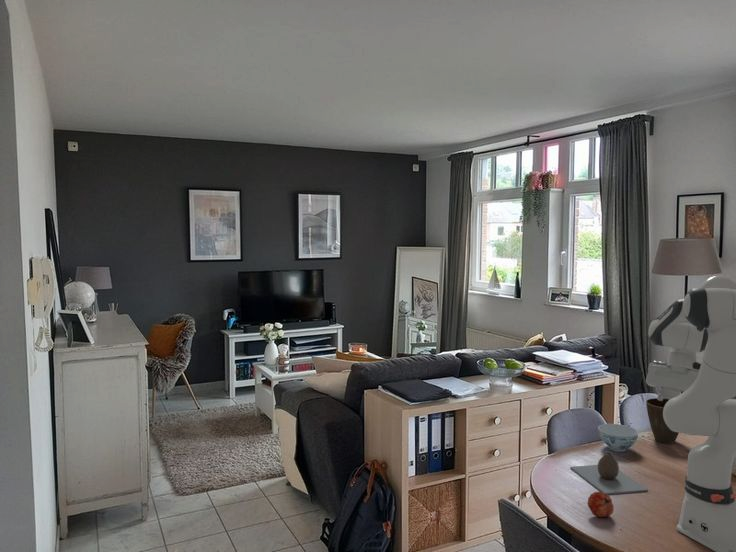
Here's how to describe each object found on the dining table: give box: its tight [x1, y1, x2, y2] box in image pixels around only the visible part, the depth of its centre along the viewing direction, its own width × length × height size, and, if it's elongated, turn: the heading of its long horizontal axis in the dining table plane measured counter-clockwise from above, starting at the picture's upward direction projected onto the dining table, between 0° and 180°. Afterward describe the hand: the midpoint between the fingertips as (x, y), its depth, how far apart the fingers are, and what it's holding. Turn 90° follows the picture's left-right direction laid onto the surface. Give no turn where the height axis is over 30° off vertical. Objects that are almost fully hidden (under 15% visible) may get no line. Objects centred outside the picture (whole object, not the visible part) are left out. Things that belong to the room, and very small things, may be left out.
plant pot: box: [645, 397, 680, 444], centre depth 244 cm, size 15×15×16 cm
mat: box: [570, 464, 649, 496], centre depth 206 cm, size 22×16×1 cm
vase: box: [597, 451, 620, 480], centre depth 206 cm, size 7×7×9 cm
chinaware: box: [597, 423, 639, 453], centre depth 235 cm, size 15×15×8 cm
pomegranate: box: [587, 491, 615, 518], centre depth 180 cm, size 7×7×10 cm
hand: (674, 403), depth 202 cm, fingers open, 8 cm apart
